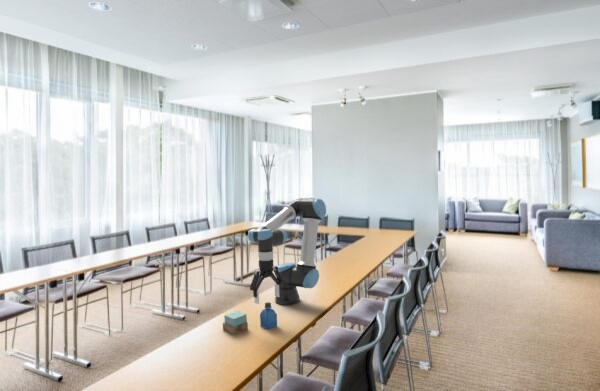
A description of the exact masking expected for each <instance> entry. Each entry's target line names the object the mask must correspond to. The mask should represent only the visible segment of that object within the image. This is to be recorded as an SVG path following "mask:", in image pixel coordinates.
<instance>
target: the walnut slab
mask: <svg viewBox="0 0 600 391" xmlns="http://www.w3.org/2000/svg"><path fill="white" fill-rule="evenodd" d="M248 325H249V324H248V321H247V322H245V323H243V324H240V325H238V326H235V327H233V326H231V325H229V324H226V323H225V321H224V322H222V330H223V331H224V332H227V333H228V334H230V335H233V336H234V335H236V334H239V333H242V332H244V331H246V330H248V329H249V328H248V327H249V326H248Z"/></svg>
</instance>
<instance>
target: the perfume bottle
mask: <svg viewBox="0 0 600 391" xmlns="http://www.w3.org/2000/svg"><path fill="white" fill-rule="evenodd" d="M271 304H272V303H271V302H270V301H269V302H268V301H267V302H265V303H264V309H262V310H261V312H260V313H259V320H260V321H259V322H260V327H262V328H264V329H266V330H270V329H273V328H275V327H278V314H277V313H276V311H275V310H274V309H272V305H271Z"/></svg>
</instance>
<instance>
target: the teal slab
mask: <svg viewBox="0 0 600 391" xmlns="http://www.w3.org/2000/svg"><path fill="white" fill-rule="evenodd" d="M247 320H248V318H247V313H244V312H241V311H239V310H235V311H233V312H230V313H227V314H224V322H225V323H226V324H229V325H231V326H233V327H235V326H238V325H240V324H243V323H245V322H248V321H247Z"/></svg>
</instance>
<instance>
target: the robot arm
mask: <svg viewBox="0 0 600 391" xmlns="http://www.w3.org/2000/svg"><path fill="white" fill-rule="evenodd" d="M326 214H327V206H326V204H325V202H324V200H323V199H321V198H315V197H311V198H306V197H305V198H303V197H302V198H301V197H300V198H296V199H294V200H293V201H290V202H288V204H285V206H283V207H282V210H281V211H279V212H278V213H276V214H275V215H274V216H272V217H271V218H270V219H268V220H267V221H266V222H265V223H264V224H262V225H260V226H259V227H257V228H252V229H249V231H248V234H247V238H248V240H249V242H251V243H255V244H257V246H258V247H257V249H258V250H257V251H258V252H257V254H258V267H259V270H254V271H253V272H254V273H253V278H252V281H251V284H250V287H249V290H250V291H252V293H253V295H252V296H253V298H254V304H257V305H259V304H260V291H259V288H260V287H261V284H262V282H263V280H265V279H266V278H271V280H272V281H274V282H273V283H274V296H275V297H274V298H275V299H274V302H275V303H276V304H278V305H283V306H289V305H290V306H291V305H296V304H297V303H299V302H300V295H299V292H298V291H299V290H298V288H297V287H299V288H304V289H313V288H315V287H316V285H317V284H318V283H319V278H320V273H319V272H320V271H319V269H317V265H316V264H315V258H316V257H315V256H316V249H317V248H316V246H317V241H318V240H317V238H318V230H319V224H320V223H321V222H322V219H323V218H324V217H325V216H326ZM295 218H302V220H303V222H304V225H303V232H302V240H301V248H300V249H301V250H300V258H299V261H298V262H297V263H295V262H286V263H282V264H279V265H278V266H275V265H274V246H278V245H282V244H284V243H286V242H287V241H288V233H287V231H286V230H284V229H280V228H281V227H283V226H284V225H285V224H286V223H288V222H289V221H291V220H294V219H295Z"/></svg>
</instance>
